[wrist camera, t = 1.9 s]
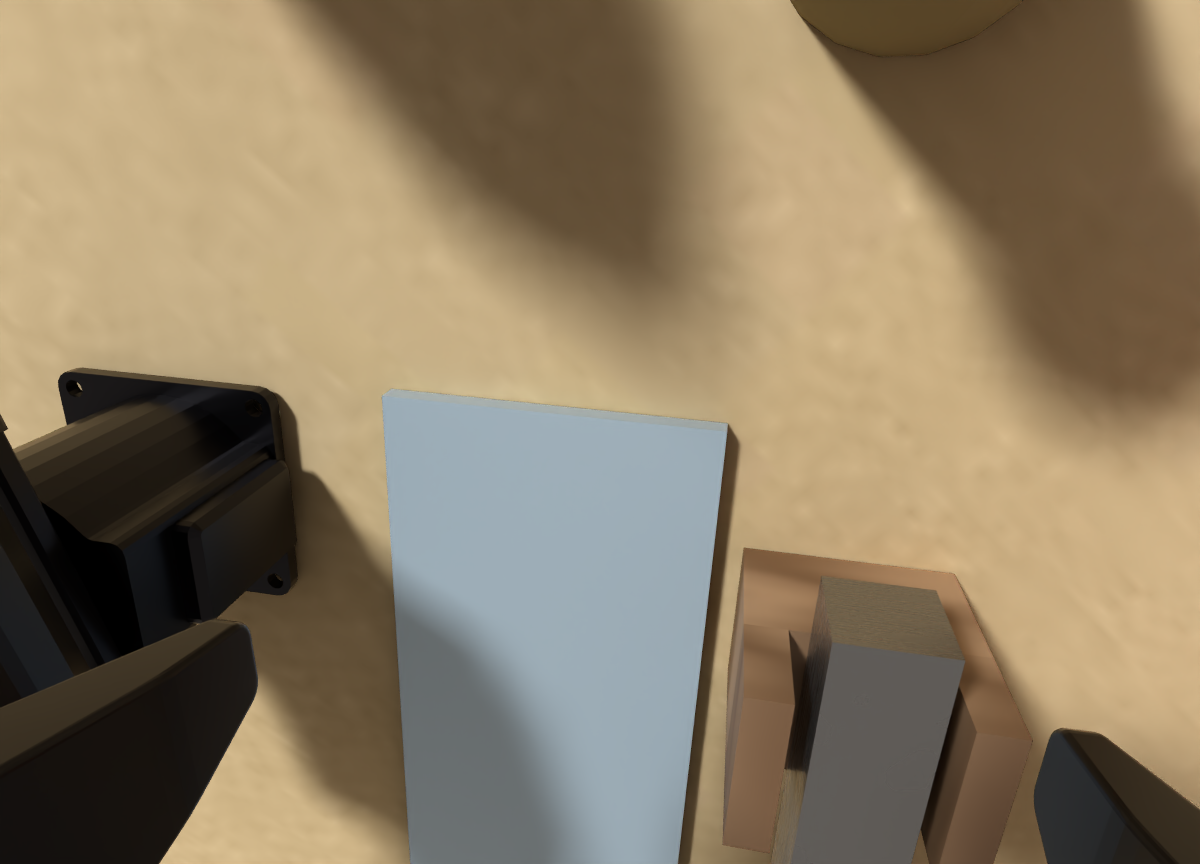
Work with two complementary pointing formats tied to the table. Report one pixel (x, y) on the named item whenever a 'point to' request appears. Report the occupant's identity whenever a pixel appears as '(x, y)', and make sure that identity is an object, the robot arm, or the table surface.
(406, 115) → the table surface
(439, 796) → the mat
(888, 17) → the pepper mill
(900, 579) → the stand
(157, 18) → the table surface
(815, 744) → the rail
